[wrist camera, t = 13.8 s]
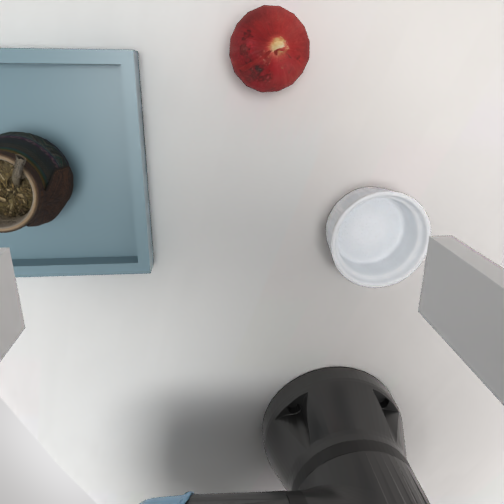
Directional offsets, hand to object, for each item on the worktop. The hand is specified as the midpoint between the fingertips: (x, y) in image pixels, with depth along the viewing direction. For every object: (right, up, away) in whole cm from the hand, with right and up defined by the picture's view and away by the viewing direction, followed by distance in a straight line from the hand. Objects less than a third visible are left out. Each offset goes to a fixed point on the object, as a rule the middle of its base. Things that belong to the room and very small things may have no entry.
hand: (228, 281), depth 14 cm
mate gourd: (-17, +8, +23) cm, 30 cm away
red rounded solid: (+2, +17, +23) cm, 28 cm away
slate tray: (-17, +8, +24) cm, 31 cm away
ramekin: (+12, +3, +29) cm, 31 cm away
